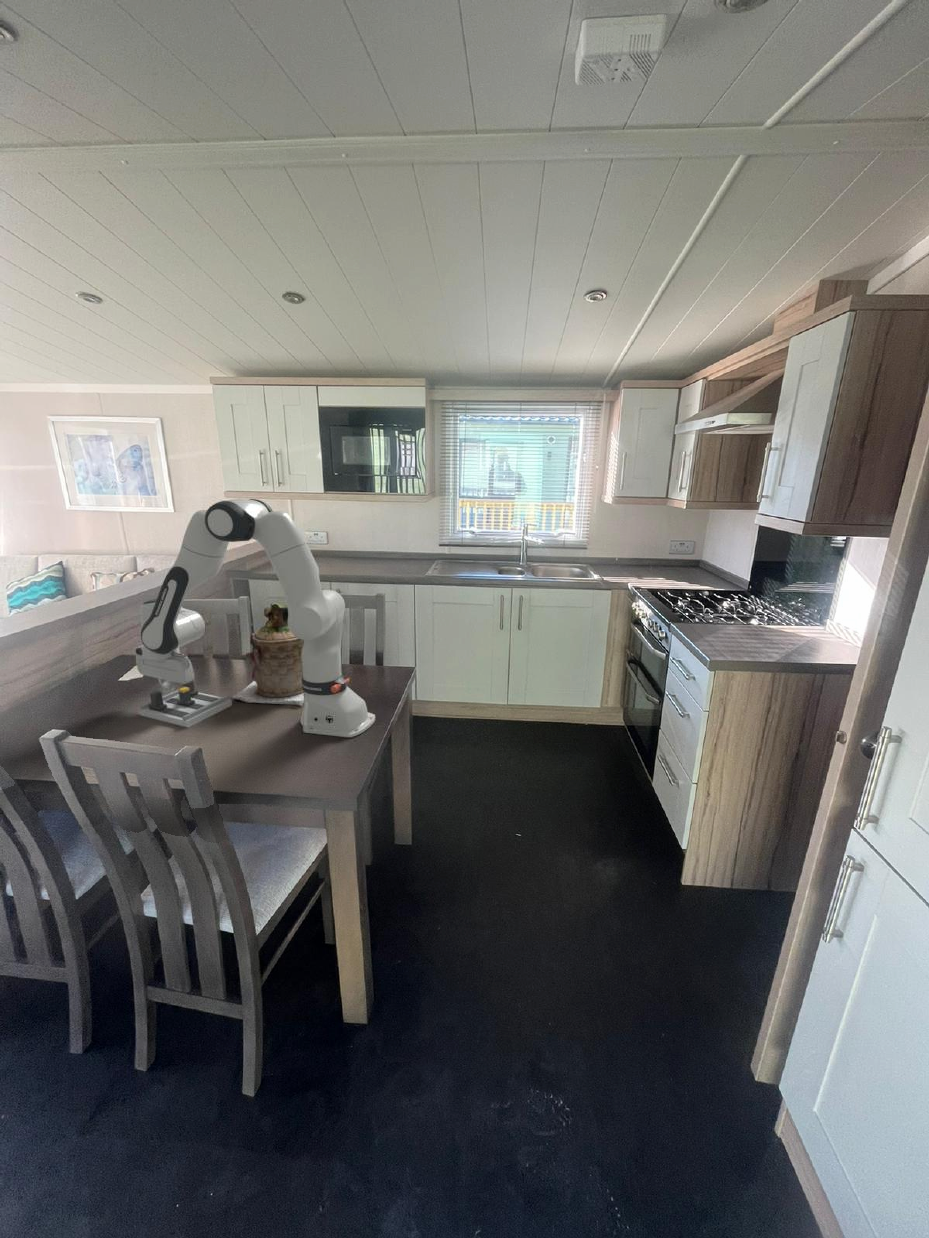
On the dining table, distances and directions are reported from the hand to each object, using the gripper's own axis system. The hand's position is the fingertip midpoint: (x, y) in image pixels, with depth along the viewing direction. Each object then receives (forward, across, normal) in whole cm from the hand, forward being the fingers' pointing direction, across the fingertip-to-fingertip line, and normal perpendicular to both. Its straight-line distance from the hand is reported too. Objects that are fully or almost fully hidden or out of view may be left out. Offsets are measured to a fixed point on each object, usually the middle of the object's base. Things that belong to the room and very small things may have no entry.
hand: (168, 691), depth 149 cm
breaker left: (+3, -2, +5) cm, 6 cm away
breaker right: (+3, -2, -6) cm, 6 cm away
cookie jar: (+5, -24, -24) cm, 34 cm away
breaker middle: (+3, -7, 0) cm, 7 cm away
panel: (+5, -7, 0) cm, 9 cm away
